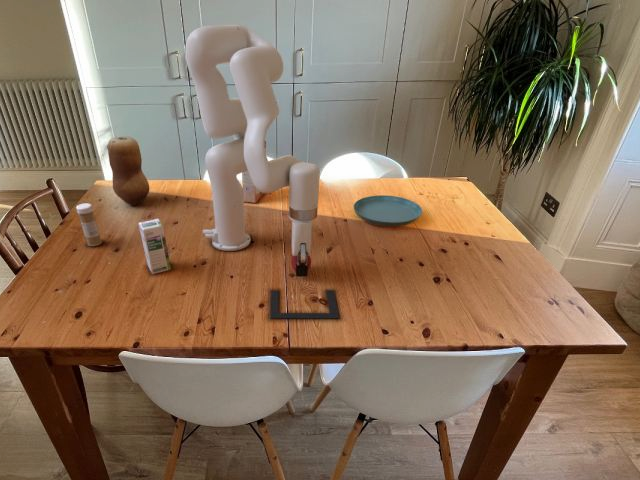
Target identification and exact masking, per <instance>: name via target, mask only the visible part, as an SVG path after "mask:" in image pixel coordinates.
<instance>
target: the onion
mask: <svg viewBox="0 0 640 480" xmlns="http://www.w3.org/2000/svg"><path fill="white" fill-rule="evenodd" d="M299 254H301V252H299ZM305 254H306V252H305ZM300 259H301V256H299V260H300ZM290 264H291V265H290V266H291V268H292V270H294V271H295V272H296V264H297V256H293V255H292V258H291V259H290ZM307 264H308V270H309V269H311V267H312V264H313V263H312V258H311V256H310V255H309V256H307Z"/></svg>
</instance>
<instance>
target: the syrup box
mask: <svg viewBox="0 0 640 480" xmlns="http://www.w3.org/2000/svg"><path fill="white" fill-rule="evenodd" d="M138 228H139V232H140V237H141V240H142V241H141V242H142V246H143V250H144V255H145V259H146V265H147V267H148V269H149V270H150V273H151V274H152V275H155V274H159V273H162V272H163V273H164V272H166V271H171V270H172V265H171V260H170V256H169V250H168V245H167V240H166V234H165V229H164V225H163V223H162V222H161V220H160V219H159V218H155V219H151V220H146V221H140V222H138Z"/></svg>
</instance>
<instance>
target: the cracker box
mask: <svg viewBox="0 0 640 480" xmlns="http://www.w3.org/2000/svg"><path fill="white" fill-rule="evenodd" d="M264 146H265V153H266V154H267V141H266V140H265V142H264ZM241 177H242V178H241V186H242V188H243V197H244V203H250V204H257V202H258V201H259V200H261V198H262V197H263V195H264V194H265V193H262V192H260V191H259V190H258V189H257V188H256V187H255V185H254V184H253V182H252V179H251V177H250V174H249V172H248V170H247V171H245V172H242V173H241Z"/></svg>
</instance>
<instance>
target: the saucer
mask: <svg viewBox="0 0 640 480" xmlns="http://www.w3.org/2000/svg"><path fill="white" fill-rule="evenodd" d="M353 210H354V213H355V214H356V215H357V216H358V217H359V218H360V219H361V220H363V221H364V222H366V223H368V224H370V225H373V226H378V227H385V228H398V227H403V226H404V227H405V226H407V225H410V224H412V223H415V222H416V221H417V220H418V219H419V218H420V217H421V216H422V214H423V209H422V207H421V205H419V204H418V203H416V202H415V201H413V200H410V199H408V198H405V197H402V196H395V195H385V194H381V195H378V194H377V195H370V196H365V197H361V198H359V199H357V200H356V201H355V202H354V204H353Z"/></svg>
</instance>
